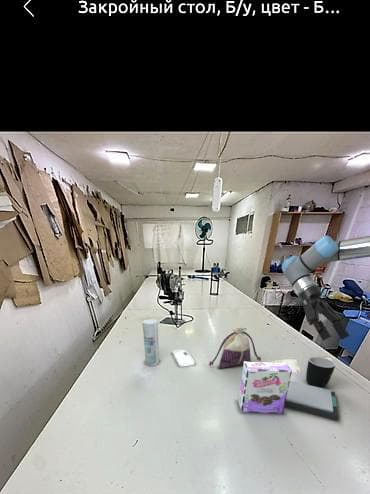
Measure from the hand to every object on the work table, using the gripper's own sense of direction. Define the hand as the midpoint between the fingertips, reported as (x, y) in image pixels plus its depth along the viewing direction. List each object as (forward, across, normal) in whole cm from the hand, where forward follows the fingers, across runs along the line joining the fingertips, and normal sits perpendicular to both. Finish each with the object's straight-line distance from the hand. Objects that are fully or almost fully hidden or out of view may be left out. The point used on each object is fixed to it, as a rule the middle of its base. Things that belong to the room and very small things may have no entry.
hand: (336, 338), depth 84 cm
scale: (+17, +9, -15) cm, 25 cm away
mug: (+11, -4, -18) cm, 21 cm away
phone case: (-20, +30, -52) cm, 63 cm away
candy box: (+14, +27, -22) cm, 37 cm away
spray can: (-21, +44, -56) cm, 75 cm away
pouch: (-8, +13, -38) cm, 41 cm away
